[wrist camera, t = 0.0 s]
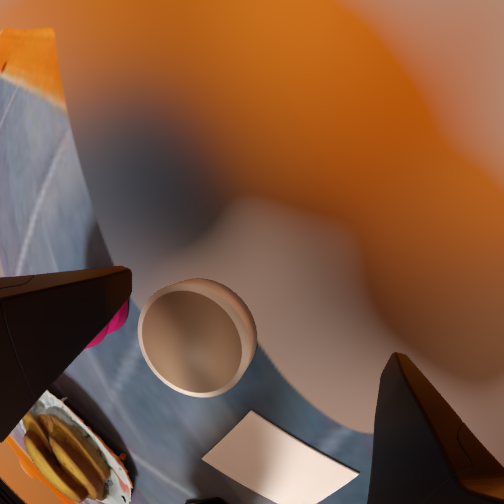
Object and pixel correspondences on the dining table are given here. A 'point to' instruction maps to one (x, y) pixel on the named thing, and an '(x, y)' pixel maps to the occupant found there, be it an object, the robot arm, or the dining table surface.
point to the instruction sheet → (277, 463)
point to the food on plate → (73, 454)
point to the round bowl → (197, 337)
